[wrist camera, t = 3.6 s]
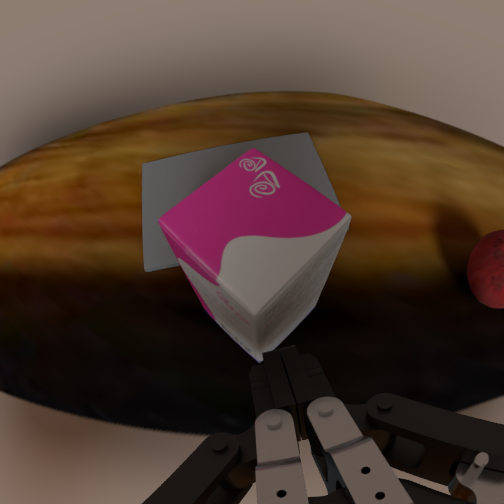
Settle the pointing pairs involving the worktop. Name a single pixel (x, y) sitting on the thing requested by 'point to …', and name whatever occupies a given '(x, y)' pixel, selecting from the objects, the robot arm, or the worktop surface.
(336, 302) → the worktop surface
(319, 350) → the worktop surface
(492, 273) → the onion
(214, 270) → the supplement box
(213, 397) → the worktop surface
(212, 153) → the mat
